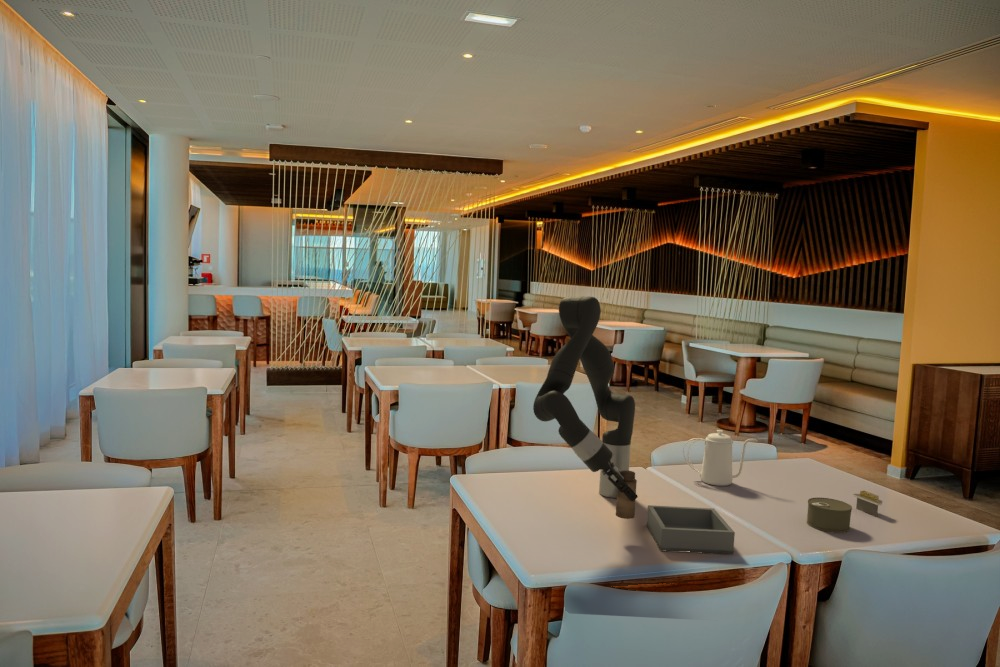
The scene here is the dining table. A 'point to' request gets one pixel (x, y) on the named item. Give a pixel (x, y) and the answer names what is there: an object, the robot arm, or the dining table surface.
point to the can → (829, 515)
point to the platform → (868, 502)
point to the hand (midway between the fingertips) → (633, 495)
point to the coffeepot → (718, 459)
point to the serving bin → (690, 529)
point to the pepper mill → (624, 504)
